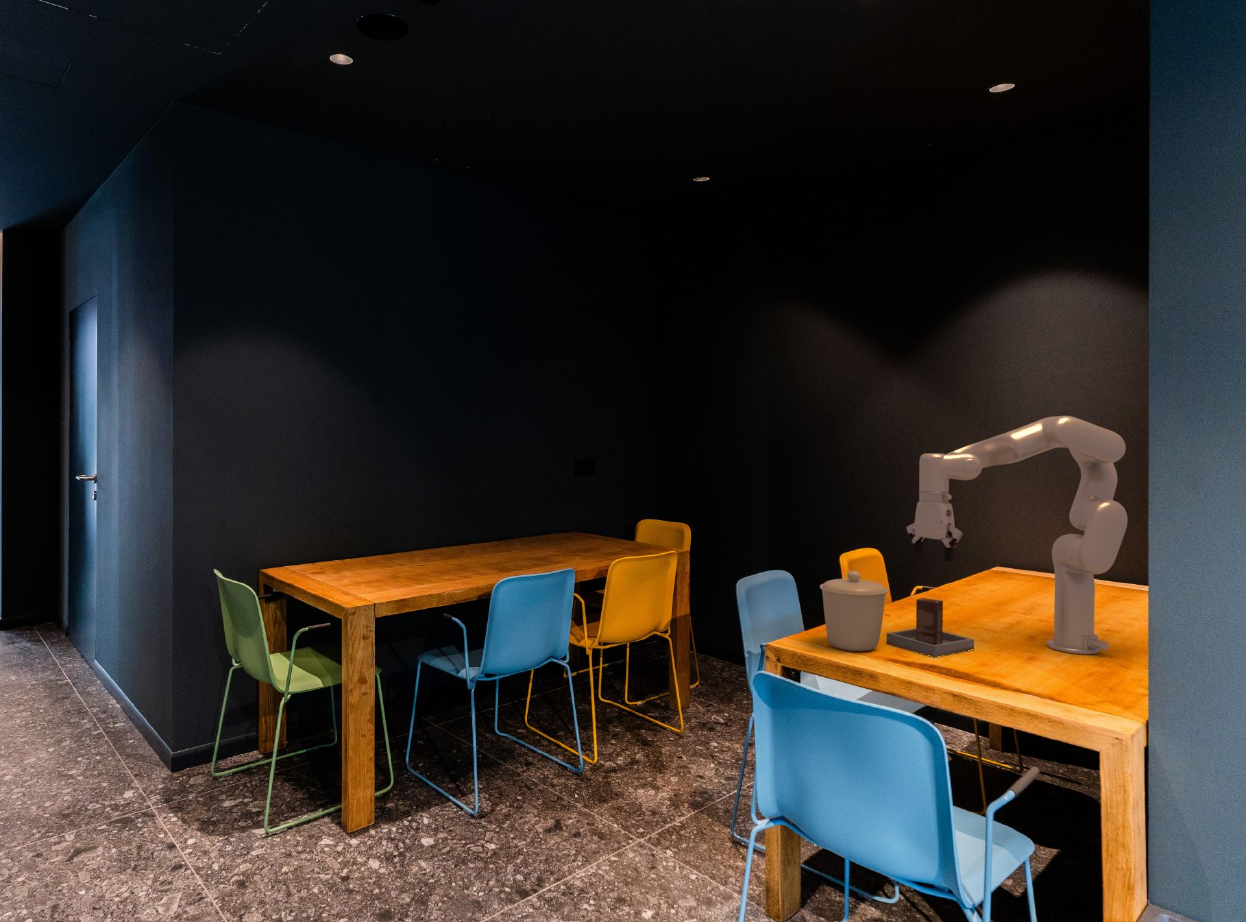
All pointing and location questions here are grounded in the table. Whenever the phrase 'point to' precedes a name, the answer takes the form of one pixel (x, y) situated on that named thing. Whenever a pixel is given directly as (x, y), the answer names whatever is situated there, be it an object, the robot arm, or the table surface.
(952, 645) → the tray
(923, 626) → the box
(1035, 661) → the table surface
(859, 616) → the canister
